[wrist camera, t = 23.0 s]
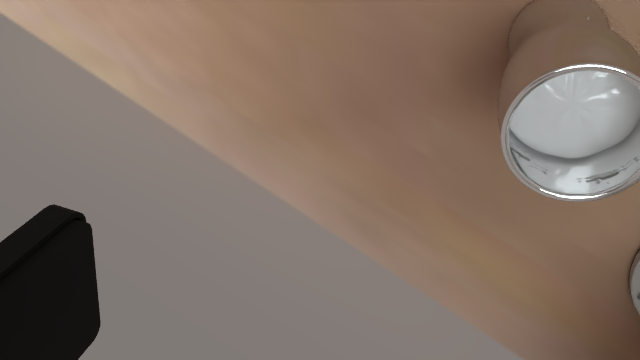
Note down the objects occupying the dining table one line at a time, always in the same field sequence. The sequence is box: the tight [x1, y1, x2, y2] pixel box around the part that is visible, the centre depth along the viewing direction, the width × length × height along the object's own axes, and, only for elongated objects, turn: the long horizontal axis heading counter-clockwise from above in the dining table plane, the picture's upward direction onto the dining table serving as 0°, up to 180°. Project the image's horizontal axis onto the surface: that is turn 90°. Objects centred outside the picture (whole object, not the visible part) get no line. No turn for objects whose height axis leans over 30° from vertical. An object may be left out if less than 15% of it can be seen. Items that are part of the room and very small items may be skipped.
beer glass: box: [498, 0, 640, 202], centre depth 31 cm, size 7×7×15 cm
